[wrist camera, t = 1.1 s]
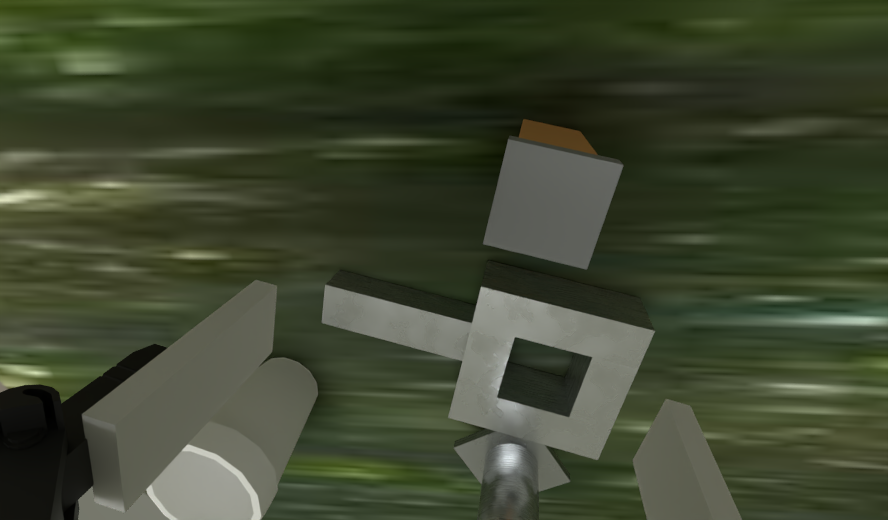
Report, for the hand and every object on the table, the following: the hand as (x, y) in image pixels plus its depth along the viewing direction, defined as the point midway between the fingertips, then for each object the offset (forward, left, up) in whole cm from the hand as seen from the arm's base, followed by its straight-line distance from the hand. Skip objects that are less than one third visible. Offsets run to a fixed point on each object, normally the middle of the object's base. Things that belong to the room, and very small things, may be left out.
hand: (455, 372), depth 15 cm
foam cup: (+23, -16, -22) cm, 35 cm away
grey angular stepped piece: (+15, 0, -21) cm, 26 cm away
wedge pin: (-4, +2, -21) cm, 22 cm away
